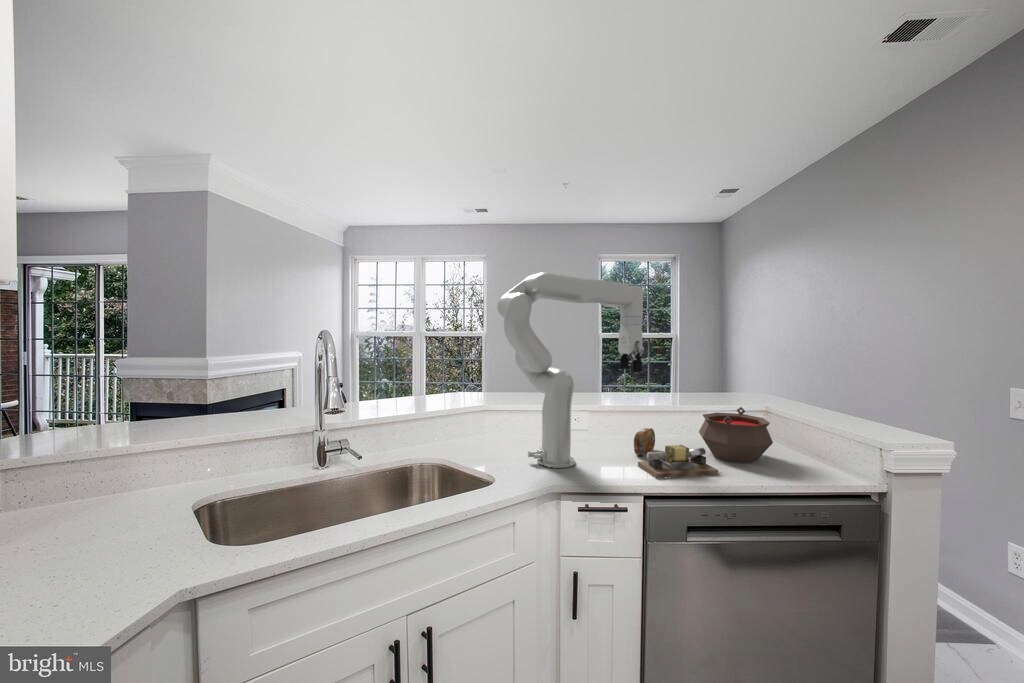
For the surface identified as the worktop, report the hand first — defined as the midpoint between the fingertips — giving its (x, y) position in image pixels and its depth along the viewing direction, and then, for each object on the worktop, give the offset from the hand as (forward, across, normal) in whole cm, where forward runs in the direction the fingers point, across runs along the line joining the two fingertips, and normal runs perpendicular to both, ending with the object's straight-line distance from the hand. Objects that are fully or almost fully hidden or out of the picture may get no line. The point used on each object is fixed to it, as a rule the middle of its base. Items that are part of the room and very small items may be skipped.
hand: (630, 370), depth 160 cm
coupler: (+28, +18, +8) cm, 34 cm away
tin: (+31, -2, +7) cm, 31 cm away
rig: (+30, +18, +8) cm, 36 cm away
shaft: (+29, +17, +15) cm, 37 cm away
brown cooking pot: (+31, +8, +36) cm, 48 cm away
